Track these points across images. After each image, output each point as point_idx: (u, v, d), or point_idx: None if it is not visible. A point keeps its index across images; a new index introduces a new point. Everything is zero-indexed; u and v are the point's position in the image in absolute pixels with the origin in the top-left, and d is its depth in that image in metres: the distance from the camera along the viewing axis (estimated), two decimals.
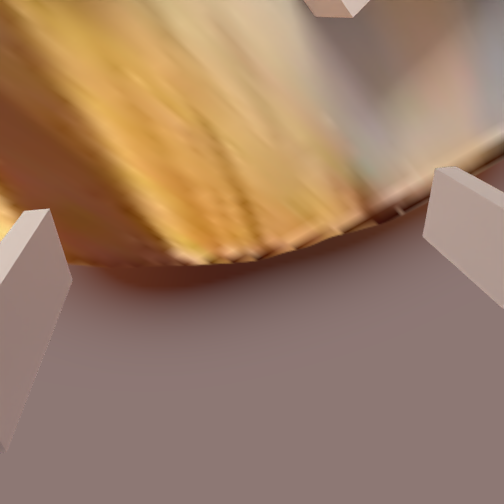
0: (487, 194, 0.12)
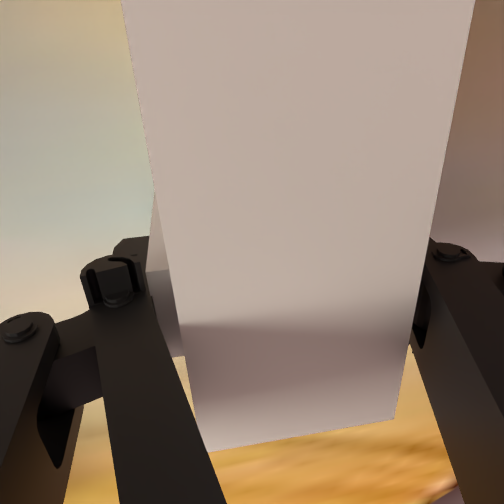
0: None
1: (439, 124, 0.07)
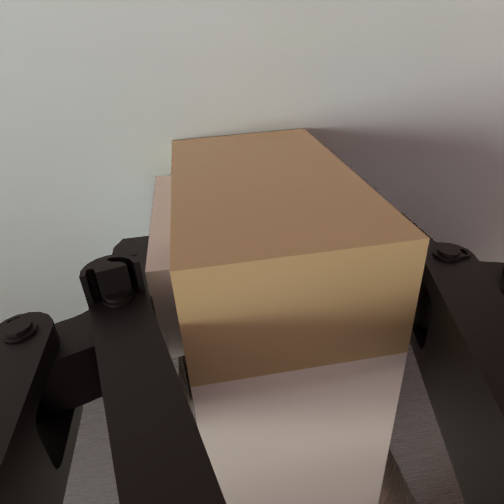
0: None
1: None
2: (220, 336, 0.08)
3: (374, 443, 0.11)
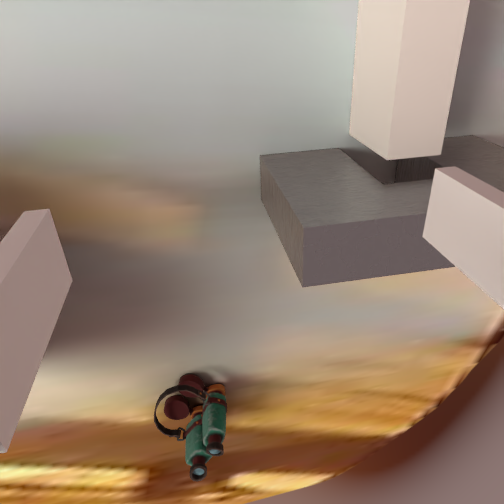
0: (487, 194, 0.12)
1: (456, 60, 0.32)
2: None
3: None
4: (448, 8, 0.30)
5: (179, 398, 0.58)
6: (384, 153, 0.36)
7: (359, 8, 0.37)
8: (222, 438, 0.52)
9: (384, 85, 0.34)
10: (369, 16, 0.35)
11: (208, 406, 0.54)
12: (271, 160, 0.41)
